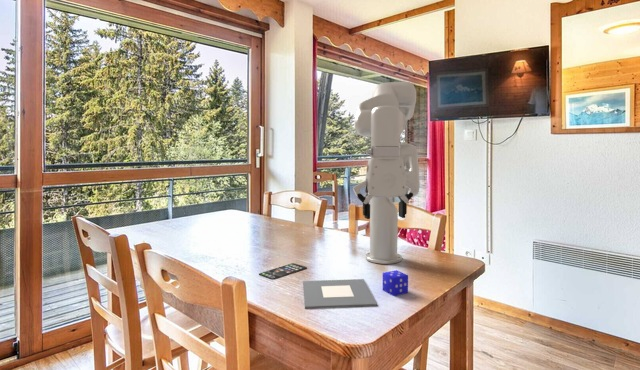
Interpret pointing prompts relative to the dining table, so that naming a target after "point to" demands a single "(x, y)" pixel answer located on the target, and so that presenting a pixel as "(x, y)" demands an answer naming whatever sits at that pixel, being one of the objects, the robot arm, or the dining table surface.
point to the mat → (337, 293)
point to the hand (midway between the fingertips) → (384, 217)
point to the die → (395, 283)
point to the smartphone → (282, 271)
